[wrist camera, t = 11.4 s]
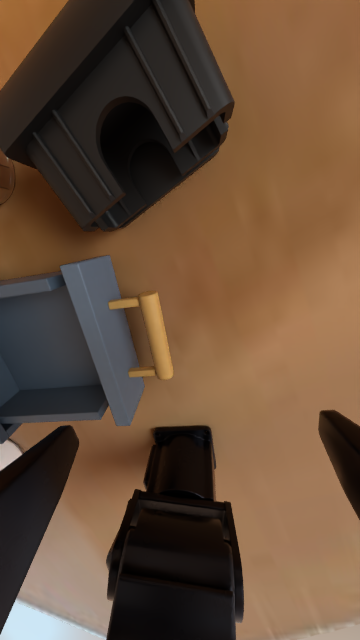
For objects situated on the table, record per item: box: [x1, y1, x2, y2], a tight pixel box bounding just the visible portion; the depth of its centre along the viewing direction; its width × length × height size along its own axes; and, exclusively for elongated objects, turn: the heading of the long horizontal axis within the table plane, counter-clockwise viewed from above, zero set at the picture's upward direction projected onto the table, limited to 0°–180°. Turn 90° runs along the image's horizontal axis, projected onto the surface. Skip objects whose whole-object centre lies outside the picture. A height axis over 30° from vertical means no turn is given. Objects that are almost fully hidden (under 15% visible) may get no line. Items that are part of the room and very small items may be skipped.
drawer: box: [0, 255, 174, 426], centre depth 17 cm, size 17×13×5 cm
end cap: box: [0, 0, 234, 231], centre depth 11 cm, size 10×7×7 cm
